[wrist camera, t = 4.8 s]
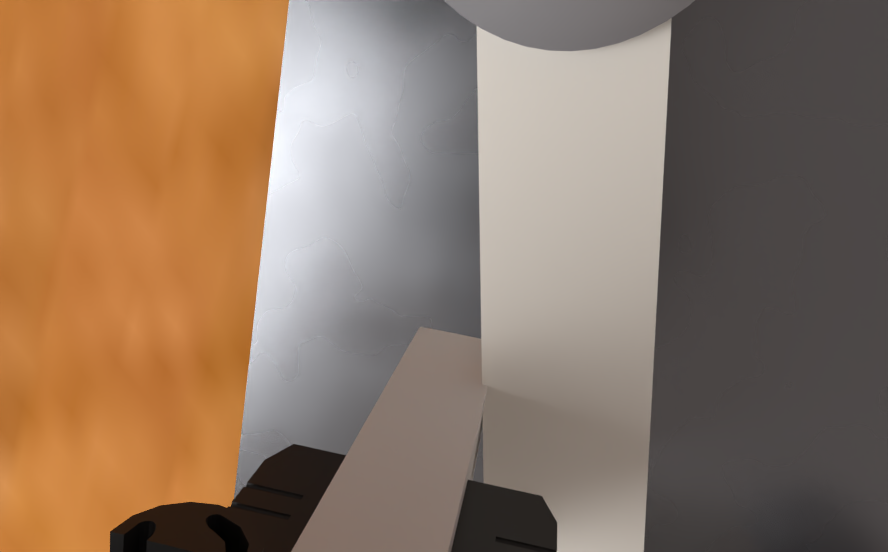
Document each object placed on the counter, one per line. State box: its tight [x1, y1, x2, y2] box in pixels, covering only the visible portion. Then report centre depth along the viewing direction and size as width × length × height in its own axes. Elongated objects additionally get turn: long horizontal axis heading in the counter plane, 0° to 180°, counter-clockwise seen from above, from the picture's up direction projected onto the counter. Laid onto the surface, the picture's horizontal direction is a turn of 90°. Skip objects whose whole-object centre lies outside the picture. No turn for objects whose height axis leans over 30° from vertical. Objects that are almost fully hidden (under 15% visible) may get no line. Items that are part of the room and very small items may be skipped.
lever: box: [444, 0, 695, 552], centre depth 11 cm, size 12×4×4 cm, turn 2°
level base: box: [234, 0, 888, 552], centre depth 12 cm, size 23×16×9 cm
